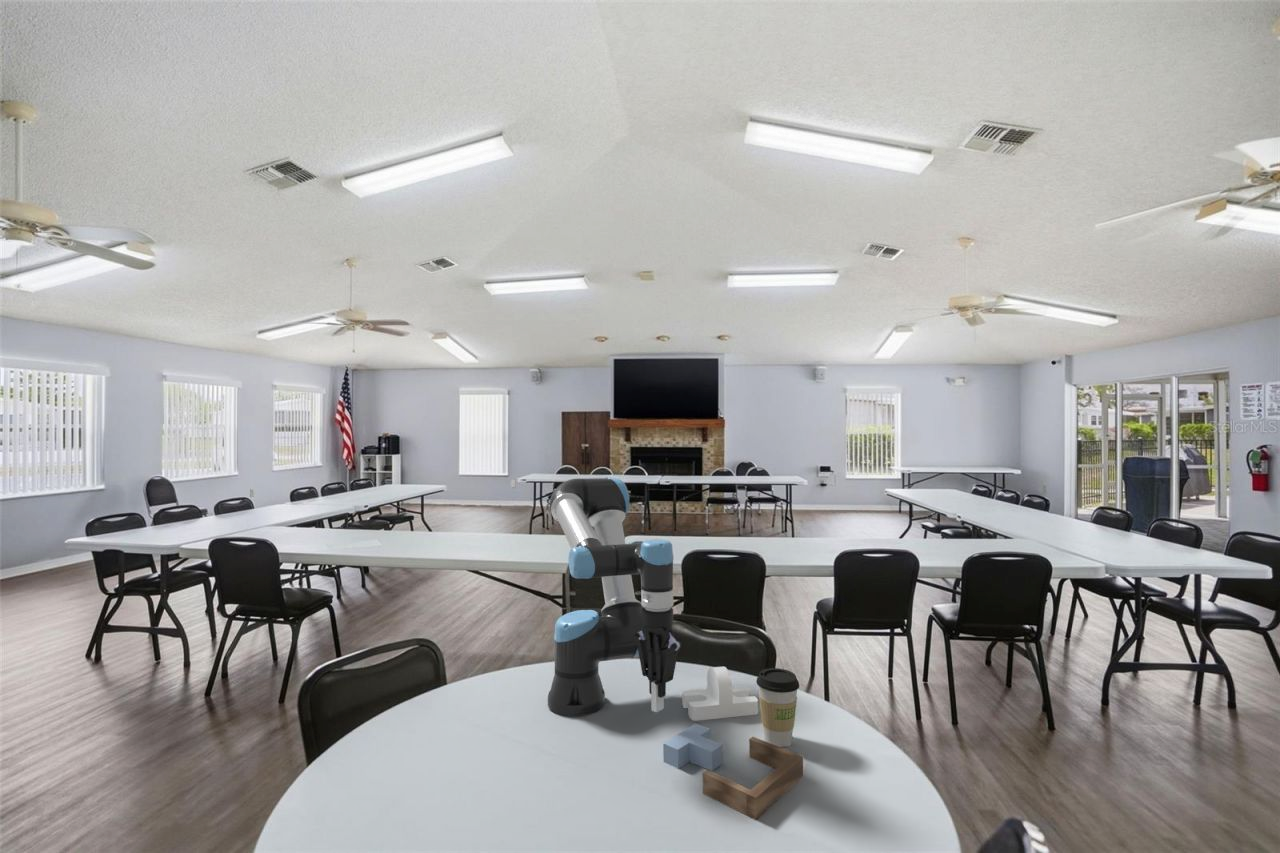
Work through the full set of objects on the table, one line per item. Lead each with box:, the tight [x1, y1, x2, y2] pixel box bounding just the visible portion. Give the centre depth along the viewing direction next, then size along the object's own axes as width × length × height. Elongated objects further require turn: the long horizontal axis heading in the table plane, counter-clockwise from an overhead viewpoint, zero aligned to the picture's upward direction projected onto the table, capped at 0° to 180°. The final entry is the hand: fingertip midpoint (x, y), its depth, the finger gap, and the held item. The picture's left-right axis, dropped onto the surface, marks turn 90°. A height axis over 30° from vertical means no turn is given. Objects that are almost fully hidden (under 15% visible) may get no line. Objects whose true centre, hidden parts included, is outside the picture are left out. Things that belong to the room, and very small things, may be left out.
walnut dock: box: [702, 736, 804, 821], centre depth 118 cm, size 12×19×4 cm, turn 138°
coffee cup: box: [755, 667, 800, 748], centre depth 135 cm, size 10×10×15 cm
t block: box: [662, 723, 724, 772], centre depth 127 cm, size 10×12×4 cm
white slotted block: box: [681, 666, 759, 722], centre depth 151 cm, size 10×18×11 cm, turn 102°
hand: (657, 709), depth 135 cm, fingers closed
